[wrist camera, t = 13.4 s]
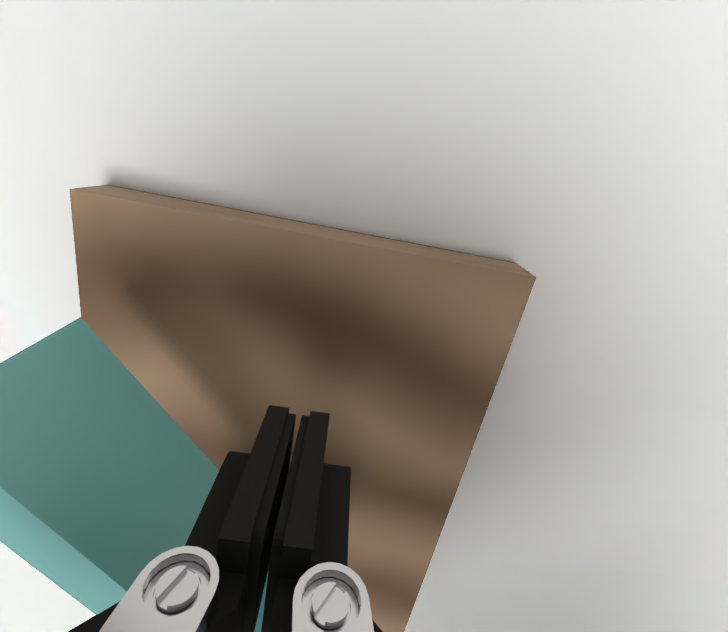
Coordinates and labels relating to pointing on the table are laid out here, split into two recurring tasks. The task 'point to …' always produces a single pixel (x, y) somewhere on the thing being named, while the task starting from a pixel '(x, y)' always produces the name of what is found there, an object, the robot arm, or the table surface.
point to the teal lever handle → (92, 468)
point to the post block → (308, 351)
